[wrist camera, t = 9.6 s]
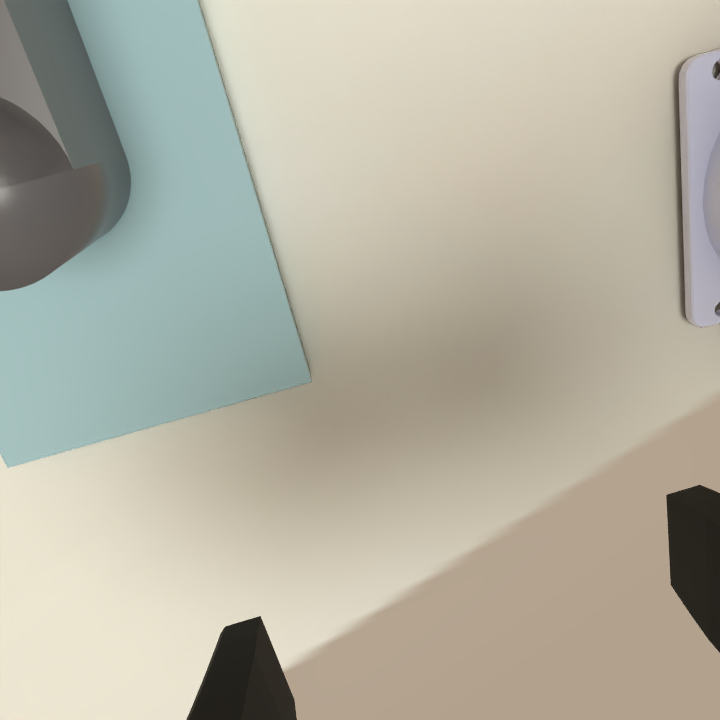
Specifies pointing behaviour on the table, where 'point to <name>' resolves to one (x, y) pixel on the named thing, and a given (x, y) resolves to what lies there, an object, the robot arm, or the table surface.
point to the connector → (52, 144)
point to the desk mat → (152, 259)
